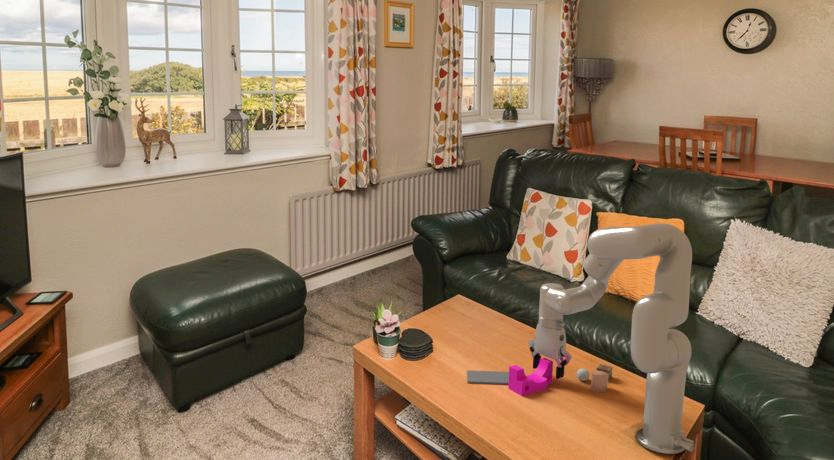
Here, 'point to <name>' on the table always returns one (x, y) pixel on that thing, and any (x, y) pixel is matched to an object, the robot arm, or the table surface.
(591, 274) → the robot arm
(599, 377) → the beige glossy rounded block
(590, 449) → the table surface
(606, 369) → the walnut cube
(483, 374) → the felt pad
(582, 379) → the grey ball
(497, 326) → the table surface
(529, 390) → the toy block
